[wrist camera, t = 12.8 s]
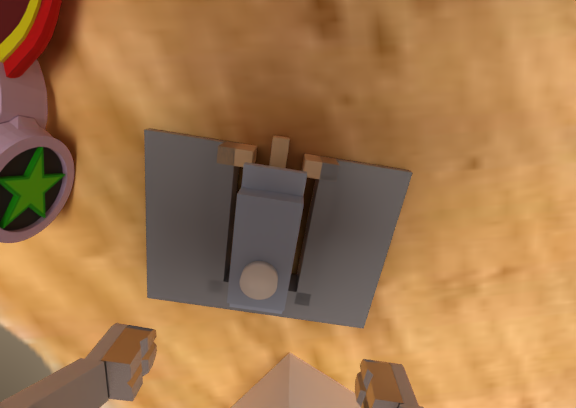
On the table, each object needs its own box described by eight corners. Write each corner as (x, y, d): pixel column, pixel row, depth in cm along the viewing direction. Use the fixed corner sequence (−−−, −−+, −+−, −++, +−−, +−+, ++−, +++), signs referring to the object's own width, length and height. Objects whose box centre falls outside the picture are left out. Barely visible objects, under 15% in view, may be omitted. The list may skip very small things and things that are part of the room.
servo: (308, 140, 22) (313, 156, 15) (284, 278, 26) (280, 336, 19) (256, 131, 21) (239, 145, 15) (240, 272, 26) (222, 328, 19)
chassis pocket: (408, 170, 22) (422, 178, 20) (361, 322, 27) (367, 343, 25) (149, 128, 21) (131, 132, 19) (151, 292, 27) (137, 310, 24)
